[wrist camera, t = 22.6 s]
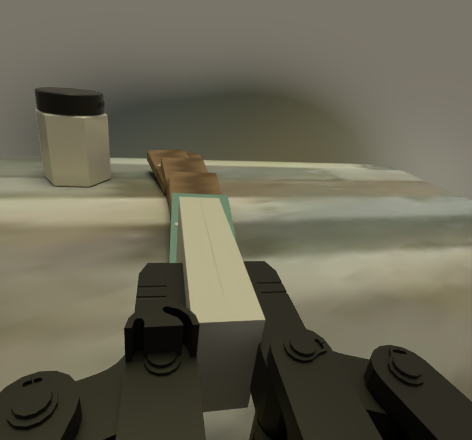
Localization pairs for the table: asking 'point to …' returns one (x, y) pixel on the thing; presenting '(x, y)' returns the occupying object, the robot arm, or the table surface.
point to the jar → (73, 136)
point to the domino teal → (174, 217)
